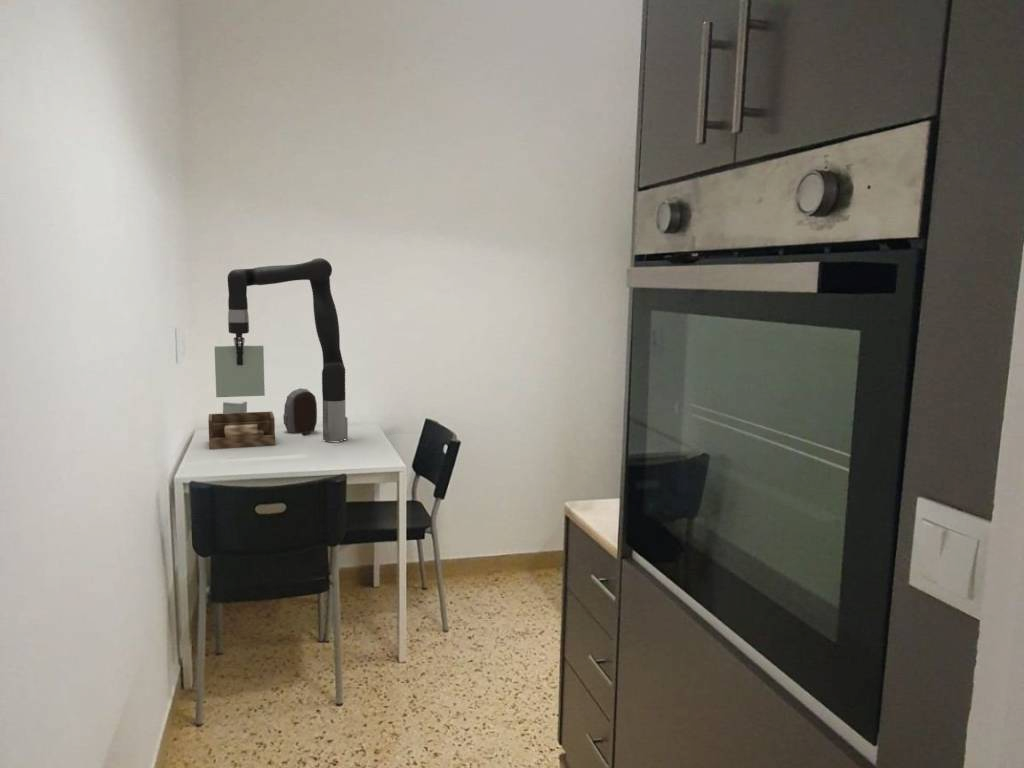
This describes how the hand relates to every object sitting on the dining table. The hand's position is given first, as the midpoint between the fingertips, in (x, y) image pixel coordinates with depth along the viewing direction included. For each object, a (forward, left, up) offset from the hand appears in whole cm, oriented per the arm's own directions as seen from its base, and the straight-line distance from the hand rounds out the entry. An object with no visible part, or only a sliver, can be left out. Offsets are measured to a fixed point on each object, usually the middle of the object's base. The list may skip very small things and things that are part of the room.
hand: (239, 364), depth 288 cm
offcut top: (+3, +6, -26) cm, 27 cm away
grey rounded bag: (-28, -5, -33) cm, 43 cm away
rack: (+1, +4, -32) cm, 33 cm away
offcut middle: (+2, +6, -28) cm, 29 cm away
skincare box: (-4, -16, -33) cm, 37 cm away
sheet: (0, 0, -13) cm, 13 cm away
